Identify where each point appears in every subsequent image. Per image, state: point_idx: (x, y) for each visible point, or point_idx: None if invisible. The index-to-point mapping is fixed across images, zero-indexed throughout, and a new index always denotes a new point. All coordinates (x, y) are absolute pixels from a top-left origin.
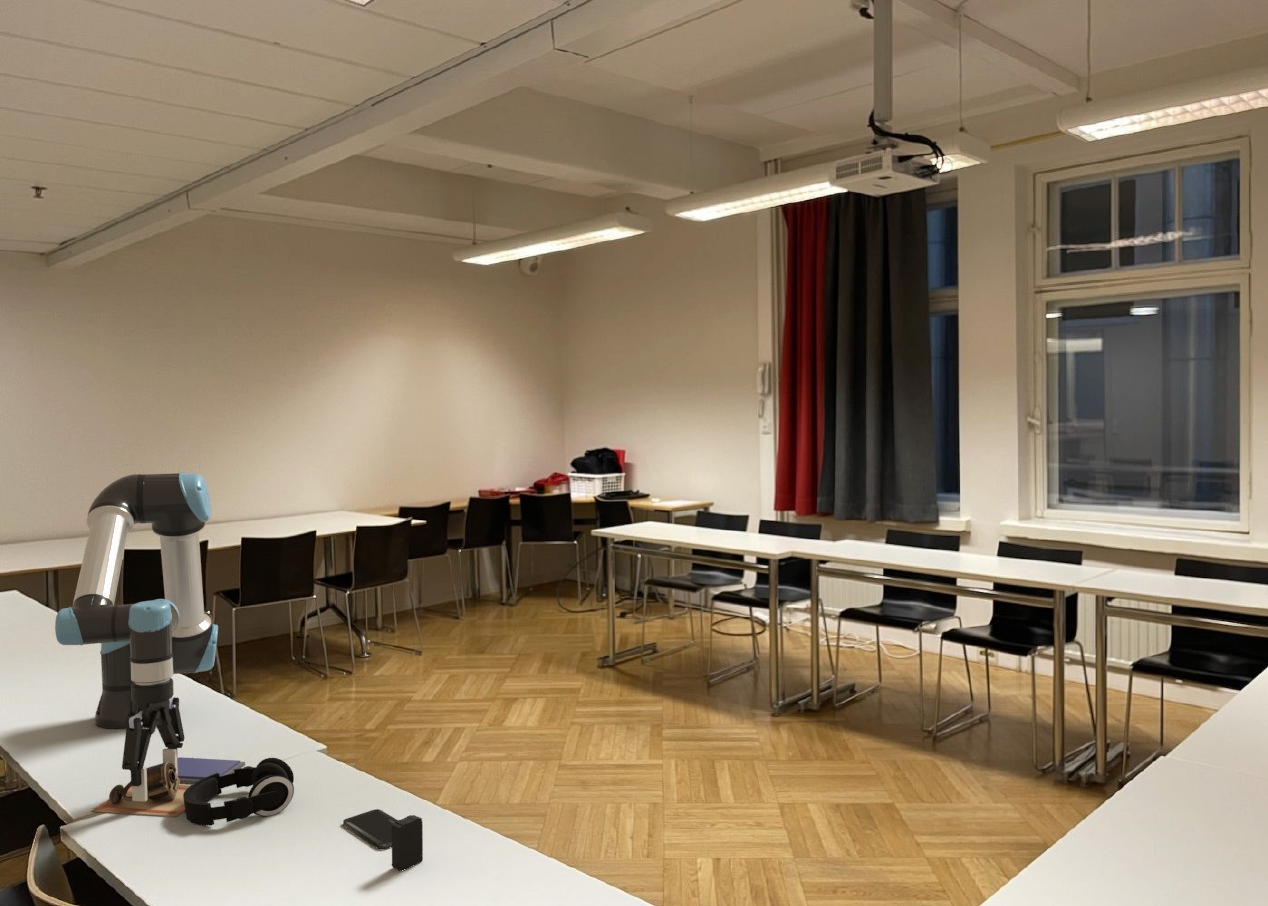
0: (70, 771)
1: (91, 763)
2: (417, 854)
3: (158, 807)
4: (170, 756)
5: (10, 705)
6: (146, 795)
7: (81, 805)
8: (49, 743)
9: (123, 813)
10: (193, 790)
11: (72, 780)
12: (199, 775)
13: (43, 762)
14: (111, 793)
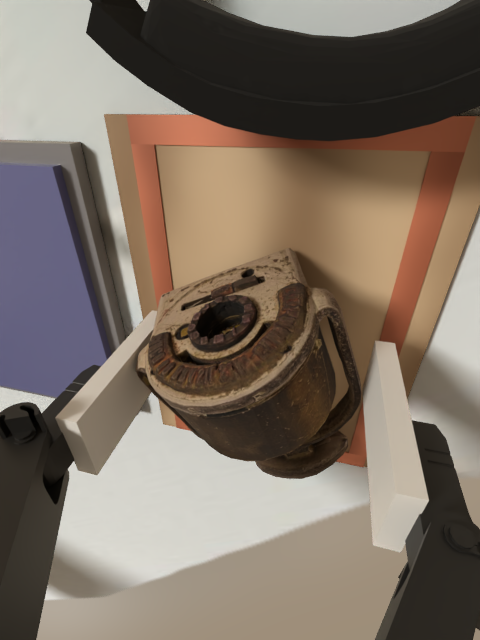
0: (150, 537)
1: (105, 518)
2: None
3: (364, 279)
4: (106, 412)
5: None
6: (384, 357)
7: (327, 493)
8: (71, 569)
9: (411, 382)
10: (402, 58)
11: (188, 529)
12: (64, 256)
13: (132, 568)
14: (324, 469)
